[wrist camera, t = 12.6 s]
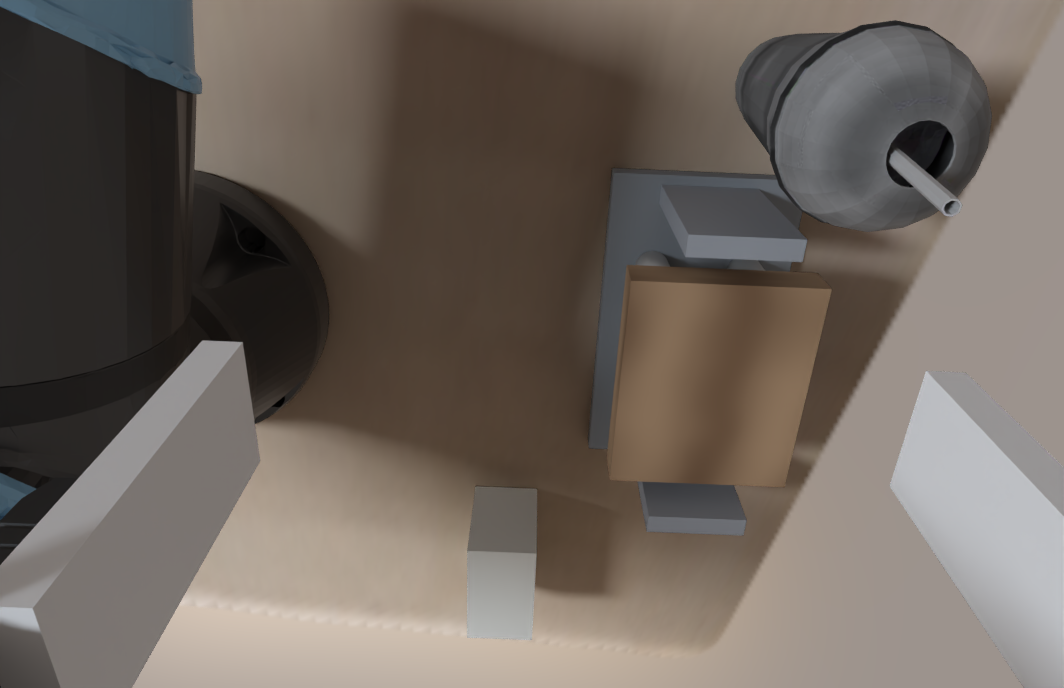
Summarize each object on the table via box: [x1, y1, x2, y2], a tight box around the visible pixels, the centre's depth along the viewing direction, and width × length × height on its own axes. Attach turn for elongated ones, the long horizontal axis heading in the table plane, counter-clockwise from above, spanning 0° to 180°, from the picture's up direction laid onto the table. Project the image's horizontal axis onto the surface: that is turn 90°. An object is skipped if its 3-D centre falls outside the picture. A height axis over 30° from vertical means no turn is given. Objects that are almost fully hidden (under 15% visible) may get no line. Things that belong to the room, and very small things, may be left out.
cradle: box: [588, 168, 807, 535], centre depth 39 cm, size 10×17×9 cm, turn 178°
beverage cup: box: [736, 20, 992, 232], centre depth 28 cm, size 7×7×20 cm
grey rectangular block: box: [467, 486, 537, 640], centre depth 48 cm, size 4×7×6 cm, turn 178°
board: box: [607, 265, 832, 487], centre depth 37 cm, size 9×11×2 cm
